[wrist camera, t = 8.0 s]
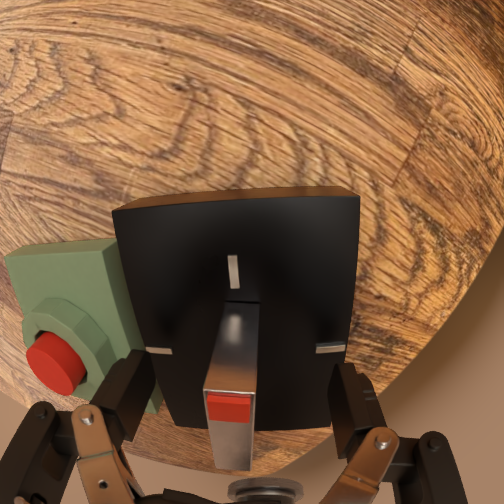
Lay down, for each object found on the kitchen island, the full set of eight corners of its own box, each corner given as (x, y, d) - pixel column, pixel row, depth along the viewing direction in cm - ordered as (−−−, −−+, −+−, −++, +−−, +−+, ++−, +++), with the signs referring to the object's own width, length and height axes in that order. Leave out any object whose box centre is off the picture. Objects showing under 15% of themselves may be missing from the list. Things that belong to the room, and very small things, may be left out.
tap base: (324, 394, 18) (330, 428, 15) (184, 395, 18) (174, 427, 15) (341, 186, 13) (362, 196, 10) (139, 198, 13) (109, 211, 10)
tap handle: (256, 390, 14) (251, 476, 9) (227, 389, 14) (214, 473, 9) (260, 303, 12) (255, 400, 7) (224, 301, 12) (200, 395, 7)
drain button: (94, 382, 14) (82, 401, 12) (55, 372, 14) (42, 388, 12) (72, 334, 12) (56, 353, 11) (33, 328, 13) (17, 343, 11)
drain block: (165, 393, 18) (150, 434, 15) (74, 377, 19) (53, 407, 15) (121, 237, 14) (81, 265, 10) (23, 245, 15) (-15, 267, 11)
